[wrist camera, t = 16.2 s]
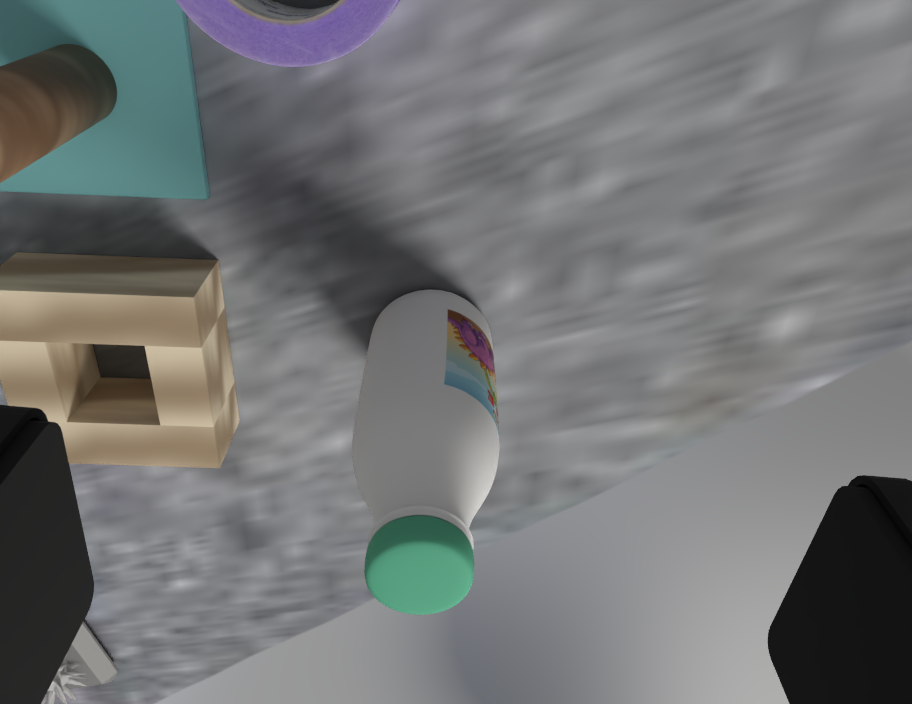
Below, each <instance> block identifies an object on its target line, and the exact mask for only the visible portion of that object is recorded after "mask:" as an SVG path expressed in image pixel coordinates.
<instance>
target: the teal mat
mask: <svg viewBox="0 0 912 704" xmlns="http://www.w3.org/2000/svg"><path fill="white" fill-rule="evenodd" d="M62 44H74V45H79V46H82V47H84V48H87V49H89V50H90V51H92V52H94V53H95V54H96V55H98V56H99V57H100V58H101V59H102V60H103V61H104V62H105V64H106V65H107V66H108V68H109V69H110V71H111V73H112V74H113V77H114V79H115V82H116V87H117V100H116V104H115V107H114V109H113V110H112V112H111V113H110V114H109V115H108V116H107V117H106V118H104V119H103V120H101V121H100V122H98V123H97V124H95V125H93V126H92V127H90V128H88V129H87V130H85V131H84V132H82V133H80V134H79V135H77V136H76V137H74V138H72V139H71V140H69V141H68V142H66V143H64V144H63V145H61V146H59V147H58V148H56V149H55V150H53V151H51V152H50V153H48V154H47V155H45V156H43V157H42V158H40V159H39V160H37V161H35V162H34V163H32V164H30V165H29V166H27V167H26V168H24V169H22V170H21V171H19V172H18V173H16V174H14V175H13V176H11V177H10V178H8V179H6V180H5V181H3V182H1V183H0V191H6V192H31V193H55V194H80V195H105V196H129V197H154V198H178V199H203V200H207V199H208V198H209V197H210V192H209V185H208V177H207V170H206V162H205V154H204V147H203V139H202V132H201V124H200V116H199V109H198V101H197V94H196V86H195V78H194V71H193V63H192V56H191V48H190V40H189V33H188V25H187V18H186V13H185V12H184V11H183V10H182V9H181V7H180V6H179V5H178V3H177V2H176V1H175V0H0V66H3V65H5V64H8V63H11V62H14V61H16V60H19V59H22V58H25V57H27V56H30V55H33V54H36V53H38V52H41V51H44V50H47V49H49V48H52V47H55V46H58V45H62Z"/></svg>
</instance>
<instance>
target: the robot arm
mask: <svg viewBox="0 0 912 704" xmlns="http://www.w3.org/2000/svg"><path fill="white" fill-rule="evenodd" d="M93 592H94V581H93V575H92V570H91V566H90V561H89V556H88V552H87V547H86V542H85V537H84V533H83V528H82V523H81V519H80V514H79V509H78V504H77V500H76V495H75V490H74V485H73V481H72V476H71V471H70V467H69V462H68V457H67V452H66V448H65V443H64V438H63V433H62V430H61V427H60V426H59V425H58V423H55V422H48V419H47V416H46V414H45V413H44V412H43V411H42V410H41V409H38V408H31V407H19V406H6V405H0V704H41V703H42V701H43V699H44V697H45V695H46V693H47V691H48V689H49V687H50V685H51V683H52V681H53V679H54V678H55V676H56V674H57V672H58V670H59V668H60V666H61V664H62V662H63V660H64V658H65V656H66V654H67V652H68V650H69V648H70V646H71V644H72V642H73V640H74V639H75V637H76V635H77V633H78V631H79V629H80V627H81V625H82V623H83V621H84V619H85V617H86V615H87V613H88V611H89V608H90V605H91V602H92V598H93ZM768 649H769V654H770V657H771V660H772V663H773V665H774V667H775V670H776V672H777V674H778V677H779V679H780V682H781V684H782V687H783V689H784V691H785V694H786V696H787V699H788V701H789V703H790V704H912V481H910V480H907V479H901V478H888V477H877V476H865V475H864V476H857V477H856V478H855V479H853V480H851V482H850V483H849V485H848V486H842V487H841V488H839V489H838V490H837V492H836V493H835V495H834V497H833V499H832V501H831V503H830V505H829V507H828V509H827V511H826V513H825V515H824V517H823V519H822V521H821V523H820V525H819V528H818V529H817V532H816V534H815V536H814V538H813V540H812V542H811V544H810V546H809V548H808V550H807V552H806V555H805V556H804V558H803V560H802V562H801V564H800V567H799V569H798V571H797V573H796V575H795V577H794V579H793V581H792V583H791V585H790V587H789V589H788V591H787V593H786V595H785V598H784V599H783V602H782V603H781V606H780V608H779V610H778V612H777V614H776V616H775V618H774V620H773V622H772V624H771V626H770V629H769V633H768Z"/></svg>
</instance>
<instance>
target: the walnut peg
mask: <svg viewBox="0 0 912 704" xmlns="http://www.w3.org/2000/svg"><path fill="white" fill-rule="evenodd" d="M116 100H117V87H116V82H115V79H114V77H113V74H112V73H111V71H110V69H109V68H108V66H107V65H106V64H105V62H104V61H103V60H102V59H101V58H100V57H99V56H98V55H96V54H95V53H94V52H92V51H90V50H89V49H87V48H84V47H82V46H79V45H74V44H62V45H58V46H55V47H52V48H49V49H47V50H44V51H41V52H38V53H36V54H33V55H30V56H27V57H25V58H22V59H19V60H16V61H14V62H11V63H8V64H5V65H3V66H0V183H1V182H3V181H5V180H6V179H8V178H10V177H11V176H13V175H14V174H16V173H18V172H19V171H21V170H22V169H24V168H26V167H27V166H29V165H30V164H32V163H34V162H35V161H37V160H39V159H40V158H42V157H43V156H45V155H47V154H48V153H50V152H51V151H53V150H55V149H56V148H58V147H59V146H61V145H63V144H64V143H66V142H68V141H69V140H71V139H72V138H74V137H76V136H77V135H79V134H80V133H82V132H84V131H85V130H87V129H88V128H90V127H92V126H93V125H95V124H97V123H98V122H100V121H101V120H103V119H104V118H106V117H107V116H108V115H109V114H110V113H111V112H112V110H113V109H114V107H115V104H116Z"/></svg>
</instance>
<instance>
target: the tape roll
mask: <svg viewBox="0 0 912 704" xmlns="http://www.w3.org/2000/svg"><path fill="white" fill-rule="evenodd" d="M175 1H176V2H177V3H178V5H179V6H180V7H181V9H182V10H183V11H184V12H185V13H186V15H187V16H188V17H189V18H190V19H191V20H192V21H193V22H194V23H195V24H196V25H197V26H198V27H199V28H200V29H201V30H203V31H204V32H205V33H206V34H207V35H209V36H210V37H211V38H213V39H214V40H215V41H217V42H218V43H220V44H221V45H223V46H225V47H227V48H228V49H230V50H232V51H233V52H235V53H237V54H240V55H242V56H244V57H247V58H249V59H252V60H255V61H258V62H262V63H266V64H270V65H276V66H286V67H301V66H311V65H317V64H321V63H325V62H328V61H332V60H335V59H337V58H339V57H341V56H344V55H346V54H348V53H350V52H351V51H353V50H355V49H356V48H357V47H359V46H360V45H362V44H363V43H364V42H366V41H367V40H368V39H369V38H370V37H371V36H372V35H374V33H375V32H376V31H377V30H378V29H379V28H380V27H381V26H382V24H383V23H384V22H385V21H386V19H387V18H388V17H389V15H390V14H391V13H392V11H393V10H394V9H395V7H396V6H397V4H398V3H399V1H400V0H339V1H337V2H335V3H333V4H331V5H328V6H324V7H320V8H314V9H305V8H296V7H290V6H286V5H283V4H280V3H278V2H275V1H274V0H175Z"/></svg>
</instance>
